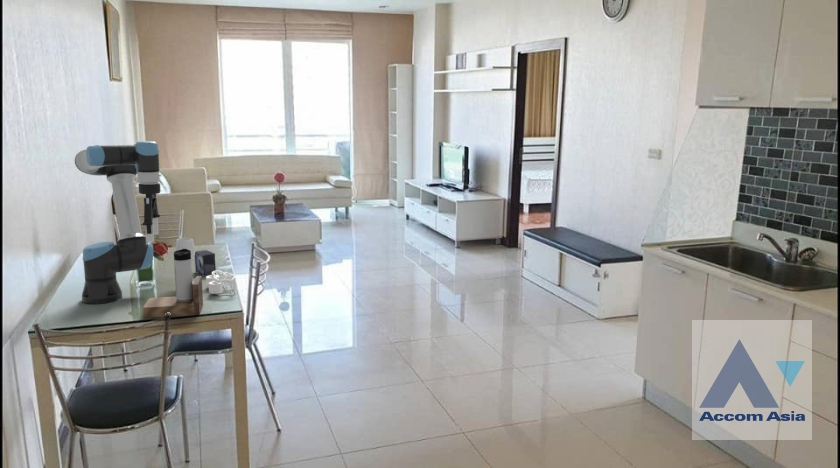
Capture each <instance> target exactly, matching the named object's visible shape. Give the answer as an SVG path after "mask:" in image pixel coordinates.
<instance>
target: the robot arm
mask: <svg viewBox="0 0 840 468" xmlns="http://www.w3.org/2000/svg"><path fill="white" fill-rule="evenodd" d="M159 152H160V151H159V145H158V142H156V141H153V140H142V141H137V142H136V144H126V145H125V144H122V145H120V144H117V145H97V144H96V145H89V146H87V147H86V149H83V150H80V151H79V152H78V153H76V155H75V157H74V164H75V167H76V168H77V170H79V171H80V172H82V173H84V174H86V175H90V176H106V180H107V181H108V182H109V183H111V187H112V194H113V198H114V199H113V200H114V206H115V212H116V218H117V224H118V230H119V238H118V239H117V240H116V241H117V243H116V244H115V243H114V242H113V241H102V242H96V243H93V244H89V245H87V246H85V247H84V248H83V250H82V261H83V271H84V273H83V274H84V286H83V290H82V293H81V301H82V303H85V304H90V305H91V304H93V305H94V304H97V305H98V304H105V303H107V304H108V303H113V302H115V301H118V300H120V299H122V298H123V290H122V289H121V285H120V284H119V282H118V280H117V273H123V272H131V271H137V270H138V271H141V270H145V269H149V268H151V266H152V264H153V261H154V245H153V243H154V242H155V235H157V236H158V235H159V234H160V231H159V230H160V229H159V218H160V216H161V215H160V214H159V210H158V203H157V200H158V199H157V195H159V194H160V193H161V191H162V190H161V183H160V180H161V178H160V177H162V174H161V173H160V163H159V162H160V158H159V155H160V154H159ZM136 178H137V182H138V193H139V194H140V195H145V197H144V198H143V204H144V205H143V211H144V212H143V223H142V225H141V219H140V213H139V207H138V201H137V197H136V190H135V189H136V188H135V185H134V180H136ZM141 226H144V230H145V231H144V232H145V234H143V232H142V227H141Z"/></svg>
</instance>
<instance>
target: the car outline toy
mask: <svg viewBox="0 0 840 468" xmlns="http://www.w3.org/2000/svg"><path fill="white" fill-rule="evenodd" d="M215 273H216V274H215ZM219 274H220V275H223V279H220V275H219ZM228 278H231V279H228ZM205 284H206V287H208V293H209V294H212V295H217V296H218V297H223V296H231V297H232V296H234V295H235V294H236V293H237V290H236V276H235V274H233V273H232V272H226V271H225V272H224V271H222V270H220V269H216V270H215V271H213V272H212V274H211V275H206V276H205ZM228 284H229V285H228ZM223 288H224V289H223ZM224 290H225V291H230V293H223V292H224Z"/></svg>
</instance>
